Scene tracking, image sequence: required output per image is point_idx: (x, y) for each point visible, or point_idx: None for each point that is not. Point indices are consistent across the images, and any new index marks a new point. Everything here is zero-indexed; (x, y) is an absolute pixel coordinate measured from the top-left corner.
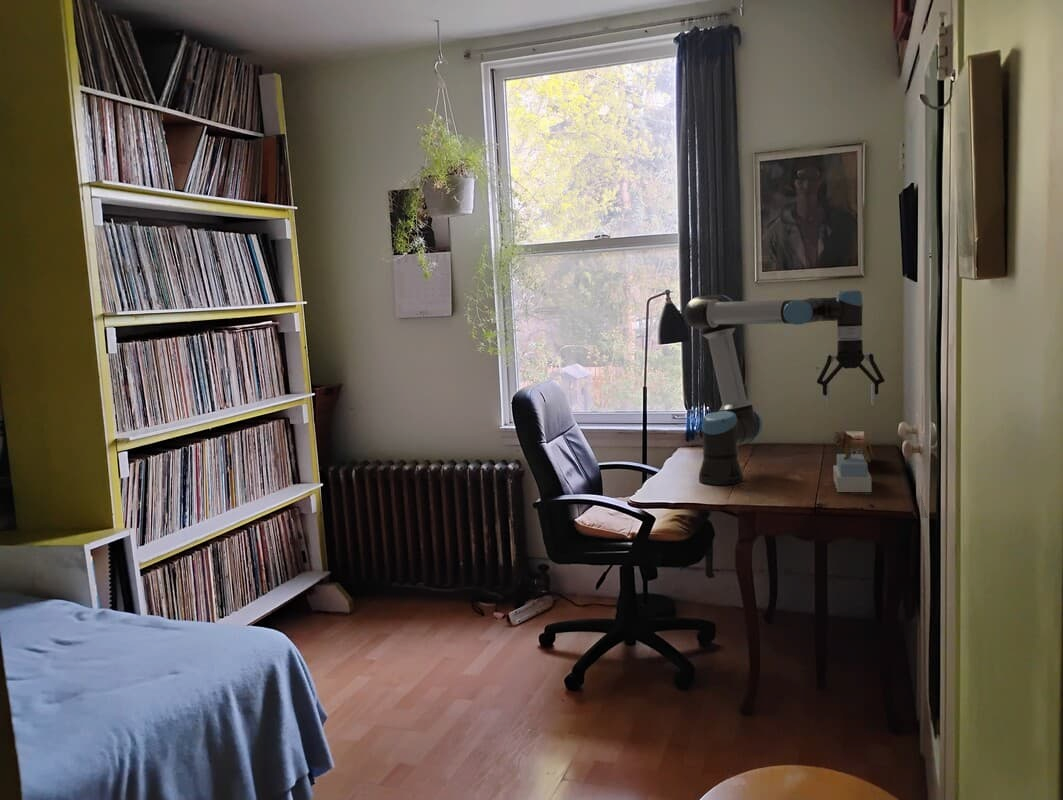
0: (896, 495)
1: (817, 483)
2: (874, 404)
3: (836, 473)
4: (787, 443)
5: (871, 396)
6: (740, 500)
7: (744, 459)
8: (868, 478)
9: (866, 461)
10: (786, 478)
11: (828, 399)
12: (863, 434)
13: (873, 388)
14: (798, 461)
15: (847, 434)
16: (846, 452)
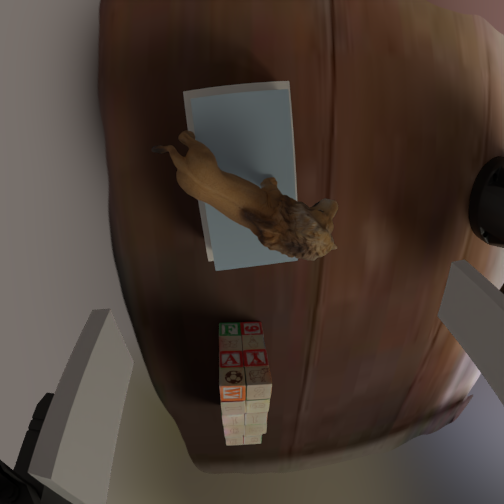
0: (125, 84)
1: (331, 187)
2: (92, 315)
3: (292, 135)
4: (340, 449)
5: (113, 401)
6: (469, 32)
7: (428, 362)
8: (192, 90)
9: (194, 135)
10: (395, 232)
11: (488, 289)
12: (222, 412)
13: (49, 440)
14: (347, 373)
15: (278, 232)
16: (270, 184)
